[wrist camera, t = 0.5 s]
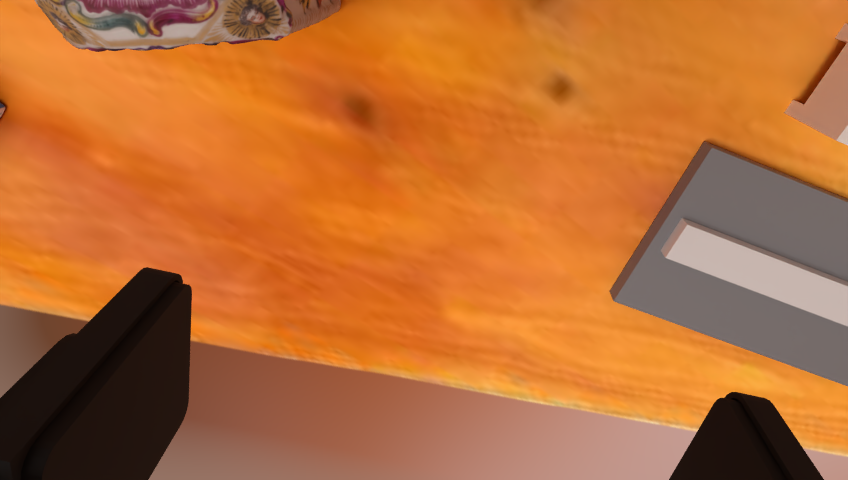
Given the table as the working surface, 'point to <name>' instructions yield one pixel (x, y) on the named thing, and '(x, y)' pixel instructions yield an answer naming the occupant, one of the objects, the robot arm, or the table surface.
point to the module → (828, 99)
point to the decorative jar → (180, 21)
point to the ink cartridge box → (2, 109)
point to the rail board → (748, 263)
